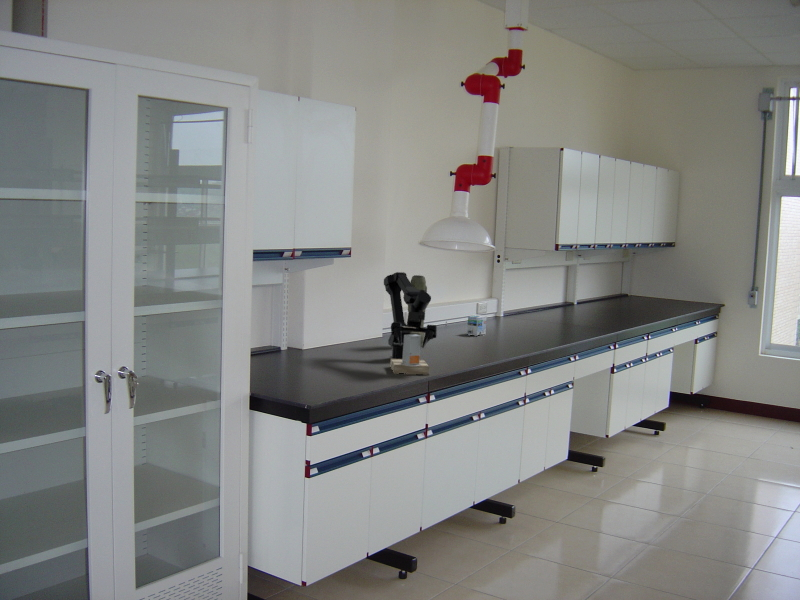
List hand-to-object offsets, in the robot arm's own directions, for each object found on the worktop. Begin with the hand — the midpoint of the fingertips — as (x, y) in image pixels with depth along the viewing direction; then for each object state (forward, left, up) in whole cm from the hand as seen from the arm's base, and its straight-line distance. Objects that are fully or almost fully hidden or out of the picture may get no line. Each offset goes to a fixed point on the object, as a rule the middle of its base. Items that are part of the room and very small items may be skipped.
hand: (411, 346), depth 302 cm
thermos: (-65, +12, -11) cm, 67 cm away
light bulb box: (-108, +54, -11) cm, 122 cm away
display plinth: (-5, 0, -11) cm, 12 cm away
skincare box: (-2, 0, -8) cm, 8 cm away
